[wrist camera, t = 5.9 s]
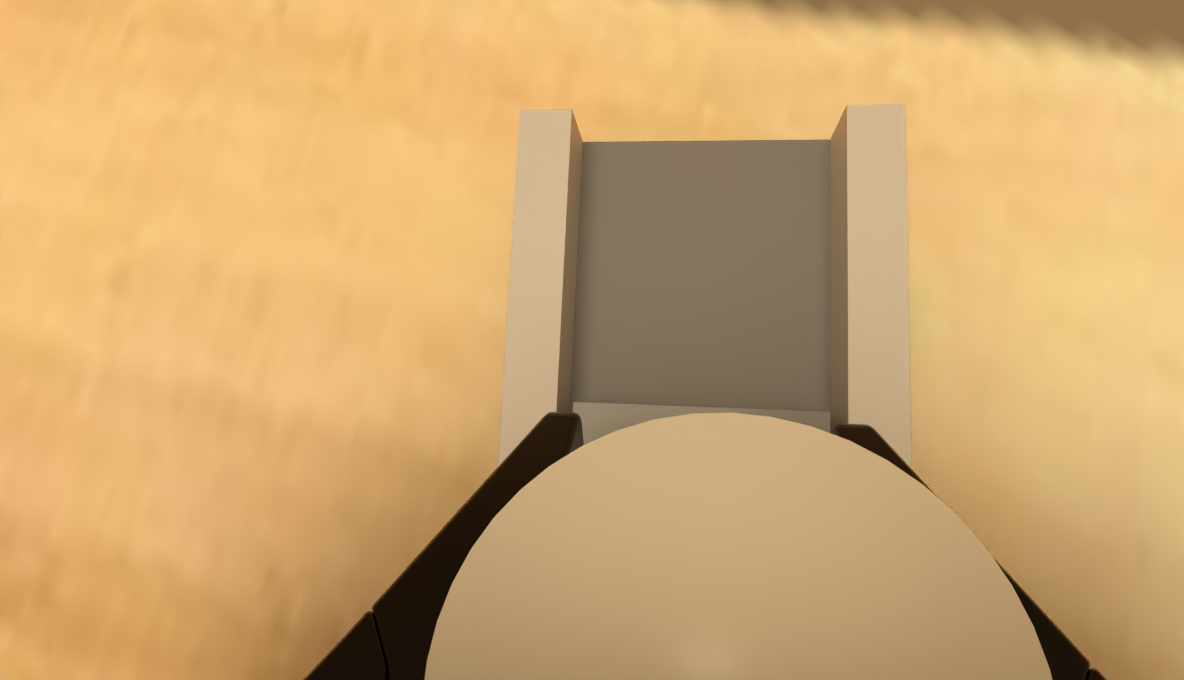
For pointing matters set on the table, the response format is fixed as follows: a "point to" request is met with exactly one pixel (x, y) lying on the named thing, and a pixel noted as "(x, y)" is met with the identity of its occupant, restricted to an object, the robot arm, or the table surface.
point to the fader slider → (728, 563)
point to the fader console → (711, 274)
